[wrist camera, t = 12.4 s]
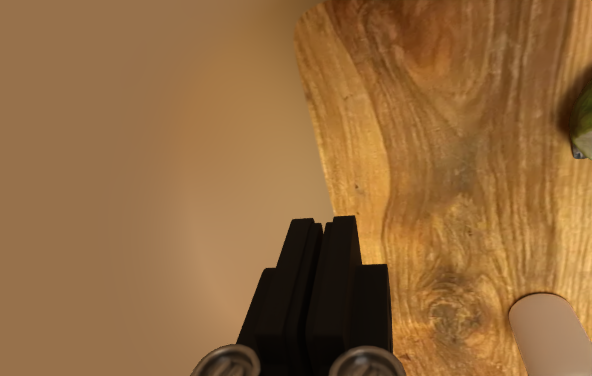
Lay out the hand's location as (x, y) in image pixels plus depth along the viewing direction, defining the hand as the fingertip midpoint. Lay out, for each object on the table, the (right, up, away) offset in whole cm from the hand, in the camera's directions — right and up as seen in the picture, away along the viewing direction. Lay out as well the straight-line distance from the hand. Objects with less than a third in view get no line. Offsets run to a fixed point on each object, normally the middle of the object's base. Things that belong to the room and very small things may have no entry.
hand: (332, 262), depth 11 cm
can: (+26, -12, +35) cm, 45 cm away
